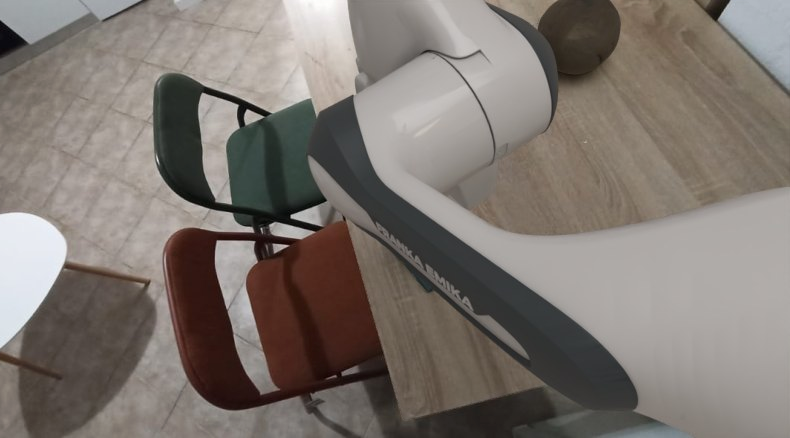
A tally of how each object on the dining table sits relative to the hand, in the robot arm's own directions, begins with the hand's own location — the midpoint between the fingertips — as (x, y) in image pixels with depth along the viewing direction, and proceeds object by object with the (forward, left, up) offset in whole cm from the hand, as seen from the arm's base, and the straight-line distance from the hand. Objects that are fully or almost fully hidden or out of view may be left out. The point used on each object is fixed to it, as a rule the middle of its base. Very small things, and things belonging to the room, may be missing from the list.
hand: (423, 168), depth 56 cm
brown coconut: (+15, -48, -32) cm, 59 cm away
